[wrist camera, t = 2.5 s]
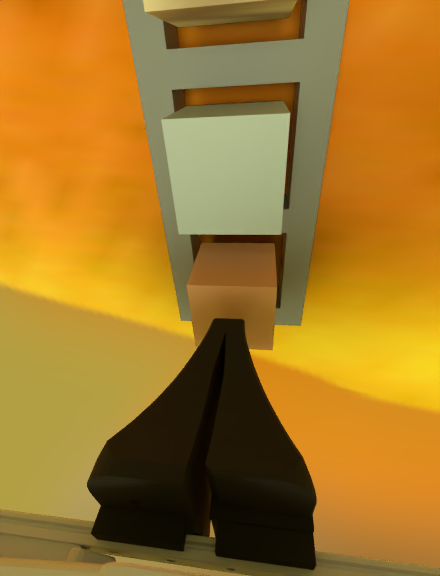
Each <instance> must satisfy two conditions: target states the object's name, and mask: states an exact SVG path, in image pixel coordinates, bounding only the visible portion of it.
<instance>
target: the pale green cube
mask: <svg viewBox="0 0 440 576" xmlns="http://www.w3.org/2000/svg"><path fill="white" fill-rule="evenodd" d="M161 121H162V128H163V135H164V141H165V148H166V154H167V161H168V167H169V174H170V180H171V187H172V193H173V200H174V207H175V213H176V220H177V226H178V233H179V234H217V235H281V230H282V217H283V203H284V190H285V177H286V163H287V150H288V137H289V124H290V112H289V110H288V108H287V106H286V104H285V103H284V101H269V102H251V103H232V104H214V105H195V106H186V107H184V108H182V109H180V110H179V111H177V112H175V113H173V114H171V115H169V116H167V117H165V118H163V119H161Z"/></svg>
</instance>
